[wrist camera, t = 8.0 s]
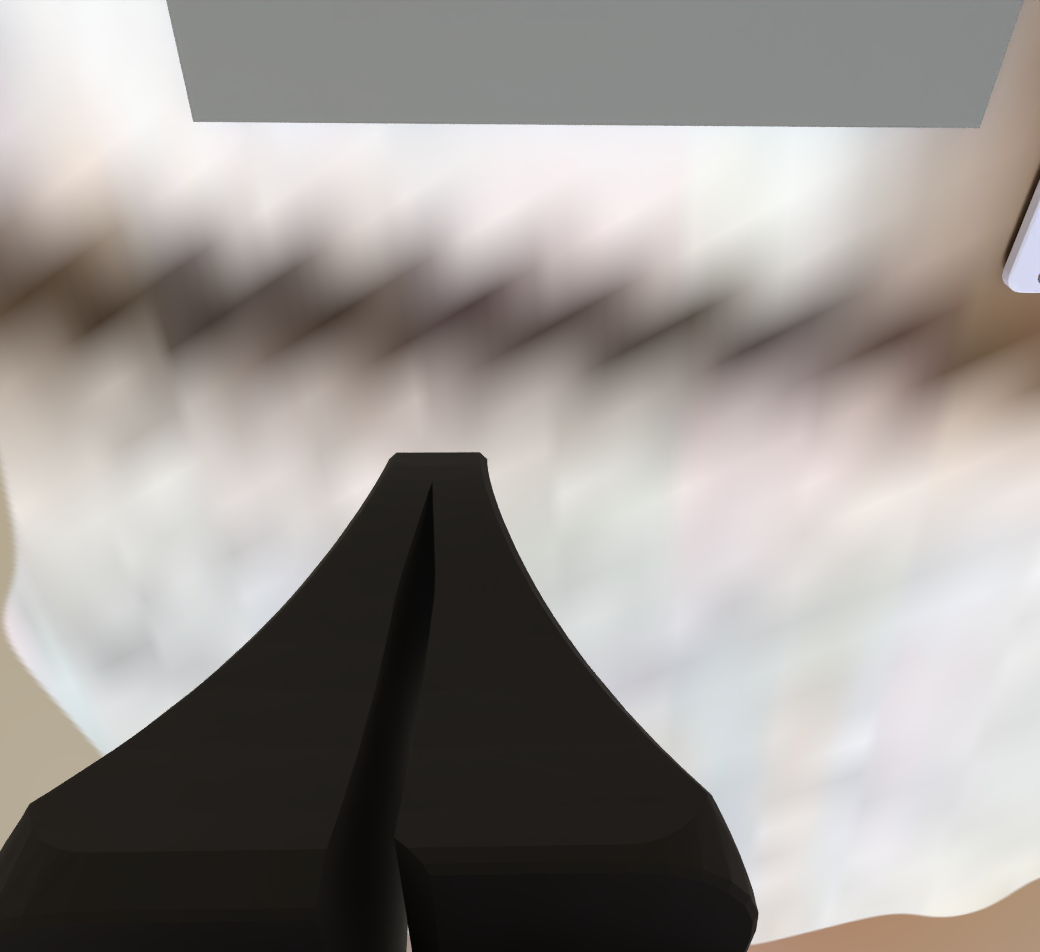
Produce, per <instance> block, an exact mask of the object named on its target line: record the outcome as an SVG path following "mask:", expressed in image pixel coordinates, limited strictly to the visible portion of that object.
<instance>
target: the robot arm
mask: <svg viewBox="0 0 1040 952" xmlns="http://www.w3.org/2000/svg"><path fill="white" fill-rule="evenodd" d="M1039 274H1040V180H1039V183H1038V185H1037V188H1036V190H1035V193H1034V195H1033V198H1032V200H1031V203H1030V205H1029V208H1028V210H1027V213H1026V215H1025V218H1024V220H1023V223H1022V225H1021V228H1020V230H1019V232H1018V235H1017V237H1016V240H1015V242H1014V245H1013V247H1012V250H1011V252H1010V255H1009V257H1008V260H1007V262H1006V265H1005V267H1004V270H1003V275H1002V278H1003V281H1004V283H1005V284H1006V285H1007V286H1008V287H1010V288H1011V289H1012V290H1013V291H1015V292H1020V293H1040V278H1038V275H1039ZM757 920H758V909H757V906H756V902H755V897H754V893H753V889H752V886H751V883H750V880H749V877H748V875H747V872H746V869H745V867H744V864H743V861H742V859H741V856H740V854H739V851H738V849H737V847H736V844H735V842H734V840H733V837H732V835H731V833H730V831H729V829H728V827H727V824H726V822H725V820H724V818H723V816H722V814H721V812H720V810H719V808H718V806H717V804H716V802H715V800H714V799H713V797H712V795H711V794H710V793H709V792H708V791H707V790H706V789H705V788H703V787H702V786H701V785H700V784H699V783H698V782H697V781H696V780H695V779H694V778H693V777H692V776H690V775H689V774H688V773H687V772H686V771H685V770H684V769H683V768H682V767H681V766H680V765H679V764H678V763H677V762H676V761H675V760H674V759H673V758H672V757H671V756H670V755H669V754H667V753H666V752H665V751H664V750H663V749H662V748H661V747H660V746H659V745H658V744H657V743H656V742H655V741H654V739H653V738H652V737H651V736H650V735H649V734H648V733H647V732H646V731H645V730H644V729H643V728H642V727H641V726H640V725H639V724H638V723H637V721H636V720H635V719H634V718H633V717H632V716H631V715H630V714H629V713H628V712H627V711H626V710H625V708H624V707H623V706H622V705H621V704H620V702H619V701H618V700H617V699H616V698H615V696H614V695H613V694H612V693H611V692H610V690H609V689H608V688H607V687H606V686H605V684H604V683H603V682H602V681H601V680H600V678H599V677H598V676H597V675H596V674H595V672H594V671H593V670H592V669H591V668H590V666H589V665H588V664H587V663H586V661H585V660H584V659H583V657H582V656H581V655H580V653H579V652H578V650H577V649H576V648H575V646H574V645H573V644H572V642H571V641H570V639H569V638H568V637H567V635H566V634H565V632H564V631H563V629H562V628H561V626H560V625H559V623H558V622H557V620H556V619H555V617H554V616H553V614H552V613H551V611H550V609H549V608H548V606H547V605H546V603H545V601H544V600H543V598H542V596H541V595H540V593H539V591H538V590H537V588H536V586H535V584H534V582H533V581H532V579H531V577H530V575H529V573H528V571H527V570H526V568H525V566H524V564H523V562H522V560H521V558H520V556H519V554H518V552H517V550H516V548H515V545H514V543H513V541H512V539H511V536H510V534H509V532H508V530H507V528H506V525H505V523H504V521H503V518H502V516H501V513H500V510H499V508H498V505H497V502H496V499H495V496H494V493H493V490H492V486H491V482H490V478H489V473H488V467H487V459H486V458H485V457H484V456H483V455H482V454H481V453H480V452H462V453H396V454H395V455H393V456H392V457H391V458H390V459H389V461H388V463H387V465H386V467H385V468H384V470H383V472H382V474H381V475H380V477H379V479H378V481H377V482H376V484H375V486H374V487H373V489H372V490H371V492H370V494H369V495H368V497H367V498H366V500H365V501H364V503H363V504H362V506H361V508H360V509H359V511H358V512H357V514H356V515H355V516H354V518H353V519H352V521H351V522H350V523H349V525H348V526H347V528H346V529H345V530H344V532H343V533H342V535H341V536H340V537H339V539H338V540H337V542H336V543H335V544H334V546H333V547H332V548H331V550H330V551H329V552H328V553H327V555H326V556H325V557H324V558H323V560H322V561H321V562H320V563H319V564H318V566H317V567H316V568H315V569H314V571H313V572H312V573H311V574H310V576H309V577H308V578H307V579H306V580H305V582H304V583H303V584H302V585H301V586H300V588H299V589H298V590H297V591H296V592H295V593H294V594H293V596H292V597H291V598H290V599H289V600H288V601H287V602H286V603H285V604H284V606H283V607H282V608H281V609H280V610H279V611H278V612H277V613H276V614H275V615H274V616H273V617H272V618H271V619H270V620H269V621H268V622H267V623H266V624H265V625H264V626H263V627H262V628H261V629H260V630H259V631H258V632H257V633H256V634H255V635H254V636H253V637H252V638H251V639H250V640H249V641H248V642H247V643H246V644H245V645H244V646H243V647H242V648H240V649H239V650H238V651H237V652H236V653H235V654H234V655H233V656H232V657H231V658H230V659H229V660H227V661H226V662H225V663H224V664H223V665H222V666H221V667H220V668H219V669H218V670H217V671H215V672H214V673H213V674H212V675H211V676H210V677H208V678H207V679H206V680H205V681H204V682H203V683H201V684H200V685H199V686H198V687H197V688H195V689H194V690H193V691H192V692H190V693H189V694H188V695H187V696H185V697H184V698H183V699H181V700H180V701H179V702H178V703H176V704H175V705H174V706H172V707H171V708H170V709H169V710H167V711H166V712H165V713H163V714H162V715H161V716H159V717H158V718H157V719H156V720H154V721H153V722H152V723H150V724H149V725H148V726H147V727H145V728H144V729H143V730H141V731H140V732H139V733H137V734H136V735H134V736H133V737H132V738H130V739H129V740H127V741H126V742H124V743H123V744H122V745H120V746H119V747H117V748H116V749H114V750H113V751H111V752H110V753H108V754H107V755H105V756H104V757H102V758H101V759H99V760H98V761H96V762H95V763H93V764H91V765H90V766H88V767H87V768H85V769H84V770H82V771H81V772H79V773H78V774H76V775H75V776H73V777H71V778H70V779H68V780H67V781H65V782H64V783H62V784H61V785H59V786H58V787H56V788H55V789H53V790H51V791H50V792H48V793H47V794H45V795H44V796H42V797H40V798H38V799H37V800H35V801H33V802H32V803H30V804H29V806H28V808H27V809H26V811H25V813H24V815H23V816H22V818H21V820H20V821H19V823H18V824H17V826H16V827H15V829H14V830H13V832H12V833H11V835H10V836H9V838H8V839H7V841H6V842H5V844H4V846H3V848H2V849H1V851H0V952H406V947H407V927H408V928H409V935H410V941H411V947H412V952H747V950H748V948H749V945H750V943H751V941H752V938H753V936H754V934H755V931H756V927H757Z"/></svg>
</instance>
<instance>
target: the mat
mask: <svg viewBox="0 0 1040 952" xmlns="http://www.w3.org/2000/svg"><path fill="white" fill-rule="evenodd" d="M166 1H167V5H168V10H169V14H170V19H171V23H172V28H173V32H174V37H175V41H176V46H177V50H178V55H179V59H180V64H181V68H182V73H183V77H184V82H185V86H186V91H187V95H188V100H189V104H190V109H191V113H192V118H193V122H290V123H415V124H539V125H664V126H788V127H913V128H980V125H981V122H982V120H983V117H984V114H985V111H986V108H987V105H988V102H989V99H990V96H991V93H992V90H993V88H994V85H995V82H996V79H997V76H998V73H999V70H1000V67H1001V64H1002V61H1003V58H1004V55H1005V53H1006V50H1007V47H1008V44H1009V41H1010V38H1011V35H1012V32H1013V29H1014V26H1015V23H1016V21H1017V18H1018V15H1019V12H1020V9H1021V6H1022V3H1023V0H166Z"/></svg>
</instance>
